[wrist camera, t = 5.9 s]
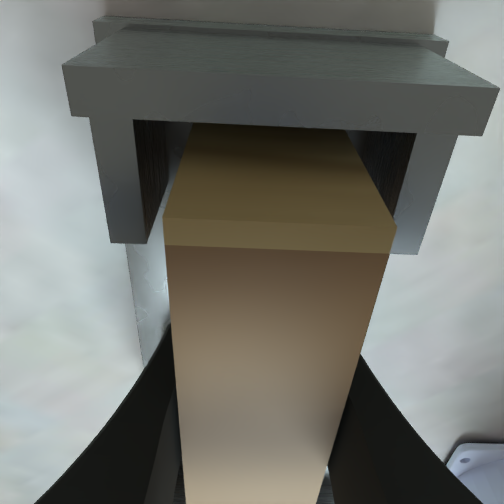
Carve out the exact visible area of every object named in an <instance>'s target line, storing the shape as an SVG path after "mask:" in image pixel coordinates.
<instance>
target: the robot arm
mask: <svg viewBox="0 0 504 504" xmlns="http://www.w3.org/2000/svg"><path fill="white" fill-rule="evenodd" d="M181 456H182V449H181V437H180V425H179V413H178V401H177V389H176V377H175V365H174V353H173V342H172V330H171V323H170V324H168V325H167V328H166V330H165V332H164V334H163V336H162V338H161V340H160V342H159V344H158V346H157V348H156V350H155V351H154V353H153V355H152V357H151V358H150V360H149V362H148V363H147V365H146V367H145V368H144V370H143V371H142V373H141V375H140V376H139V378H138V379H137V381H136V383H135V384H134V386H133V387H132V389H131V390H130V392H129V393H128V394H127V396H126V397H125V399H124V400H123V401H122V403H121V404H120V406H119V407H118V408H117V410H116V411H115V413H114V414H113V415H112V417H111V418H110V419H109V421H108V422H107V423H106V425H105V426H104V427H103V428H102V430H101V431H100V432H99V433H98V435H97V436H96V437H95V438H94V439H93V441H92V442H91V443H90V444H89V446H88V447H87V448H86V449H85V450H84V451H83V452H82V454H81V455H80V456H79V457H78V458H77V459H76V460H75V461H74V463H73V464H72V465H71V466H70V467H69V468H68V469H67V470H66V472H65V473H64V474H63V475H62V476H61V477H60V478H59V479H58V480H57V481H56V482H55V483H54V484H53V485H52V486H51V487H50V488H49V489H48V490H47V491H46V492H45V493H44V494H43V495H42V496H41V497H40V498H39V499H38V500H37V501H36V502H35V503H34V504H173V498H174V492H175V486H176V481H177V476H178V471H179V466H180V461H181ZM327 466H328V471H329V476H330V481H331V486H332V492H333V498H334V504H504V444H486V443H464V444H461V445H459V446H458V447H457V448H456V450H455V451H454V453H453V455H452V456H451V458H450V460H449V461H448V463H447V465H445V464H444V463H443V462H442V461H441V460H440V459H439V458H438V457H437V456H436V454H435V453H434V452H433V451H432V450H431V449H430V448H429V446H428V445H427V444H426V443H425V442H424V441H423V440H422V438H421V437H420V436H419V435H418V434H417V432H416V431H415V430H414V429H413V427H412V426H411V425H410V424H409V422H408V421H407V420H406V419H405V417H404V416H403V415H402V413H401V412H400V411H399V409H398V408H397V407H396V405H395V404H394V403H393V401H392V400H391V399H390V397H389V396H388V394H387V393H386V392H385V390H384V389H383V387H382V386H381V384H380V383H379V381H378V380H377V379H376V377H375V376H374V374H373V373H372V371H371V370H370V368H369V366H368V365H367V363H366V362H365V360H364V359H363V357H362V355H361V354H360V356H359V359H358V363H357V366H356V369H355V373H354V376H353V380H352V383H351V386H350V390H349V393H348V397H347V400H346V403H345V407H344V410H343V413H342V417H341V420H340V424H339V427H338V430H337V434H336V437H335V441H334V444H333V447H332V451H331V454H330V457H329V461H328V464H327Z"/></svg>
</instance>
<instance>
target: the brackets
mask: <svg viewBox="0 0 504 504" xmlns="http://www.w3.org/2000/svg"><path fill="white" fill-rule="evenodd" d="M93 28H94V35H95V42H96V45H94V46H92V47H91V48H89V49H87V50H86V51H84V52H82V53H81V54H79V55H77V56H76V57H74V58H72V59H71V60H69V61H67V62H66V63H64V64H62V70H63V75H64V80H65V85H66V91H67V96H68V101H69V106H70V111H71V116H77V117H89V120H90V125H91V131H92V137H93V143H94V149H95V155H96V160H97V166H98V172H99V178H100V184H101V190H102V195H103V201H104V207H105V213H106V219H107V224H108V230H109V236H110V242H111V243H125V245H126V252H127V258H128V265H129V272H130V279H131V285H132V292H133V299H134V306H135V313H136V319H137V326H138V333H139V340H140V346H141V353H142V360H143V367H144V368H145V367H146V365H147V363H148V362H149V360H150V358H151V357H152V355H153V353H154V351H155V350H156V348H157V346H158V344H159V342H160V340H161V338H162V336H163V334H164V332H165V330H166V328H167V325H168V324H170V323H171V318H170V306H169V294H168V282H167V270H166V258H165V246H164V234H163V222H162V217H163V214H164V210H165V207H166V204H167V201H168V198H169V195H170V192H171V189H172V186H173V183H174V180H175V177H176V174H177V171H178V168H179V165H180V162H181V159H182V155H183V152H184V149H185V146H186V143H187V140H188V137H189V134H190V131H191V128H192V125H193V122H200V123H221V124H241V125H262V126H282V127H303V128H323V129H344V130H345V131H346V133H347V134H348V136H349V138H350V140H351V142H352V144H353V146H354V147H355V149H356V151H357V153H358V155H359V157H360V159H361V160H362V162H363V164H364V166H365V168H366V170H367V172H368V173H369V175H370V177H371V179H372V181H373V183H374V185H375V186H376V188H377V190H378V192H379V194H380V196H381V198H382V199H383V201H384V203H385V205H386V207H387V209H388V211H389V212H390V214H391V216H392V218H393V220H394V222H395V224H396V225H397V231H396V234H395V238H394V241H393V244H392V248H391V251H390V254H410V255H417V254H418V251H419V249H420V246H421V243H422V240H423V237H424V234H425V231H426V228H427V225H428V222H429V219H430V216H431V213H432V211H433V208H434V205H435V202H436V199H437V196H438V193H439V190H440V187H441V184H442V181H443V178H444V175H445V172H446V170H447V167H448V164H449V161H450V158H451V155H452V152H453V149H454V146H455V143H456V140H457V137H458V135H467V136H482V135H483V133H484V130H485V127H486V125H487V122H488V119H489V117H490V114H491V111H492V109H493V106H494V103H495V101H496V98H497V95H498V93H499V90H500V88H499V87H497V86H495V85H494V84H492V83H490V82H488V81H486V80H484V79H482V78H481V77H479V76H477V75H475V74H473V73H471V72H469V71H468V70H466V69H464V68H462V67H460V66H458V65H456V64H455V63H453V62H451V61H449V60H447V59H445V58H444V57H445V54H446V50H447V47H448V43H449V41H447V40H445V39H443V38H440V37H438V36H436V35H429V34H412V33H394V32H377V31H359V30H342V29H324V28H307V27H289V26H271V25H254V24H236V23H219V22H201V21H184V20H166V19H148V18H131V17H113V16H103V17H101V18H99V19H97V20H94V21H93ZM173 504H186V497H185V485H184V473H183V461H182V456H181V461H180V466H179V471H178V476H177V481H176V486H175V492H174V498H173ZM316 504H334V498H333V492H332V486H331V481H330V476H329V471H328V466H327V468H326V471H325V474H324V478H323V481H322V485H321V488H320V491H319V495H318V498H317V501H316Z"/></svg>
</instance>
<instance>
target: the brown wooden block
mask: <svg viewBox="0 0 504 504" xmlns="http://www.w3.org/2000/svg"><path fill="white" fill-rule="evenodd" d="M162 222H163V234H164V246H165V258H166V270H167V282H168V294H169V306H170V318H171V330H172V342H173V353H174V365H175V377H176V389H177V401H178V413H179V425H180V437H181V449H182V461H183V473H184V485H185V497H186V504H316V501H317V498H318V495H319V491H320V488H321V485H322V481H323V478H324V474H325V471H326V468H327V464H328V461H329V457H330V454H331V451H332V447H333V444H334V441H335V437H336V434H337V430H338V427H339V424H340V420H341V417H342V413H343V410H344V407H345V403H346V400H347V397H348V393H349V390H350V386H351V383H352V380H353V376H354V373H355V369H356V366H357V363H358V359H359V356H360V353H361V349H362V346H363V342H364V339H365V336H366V332H367V329H368V326H369V322H370V319H371V315H372V312H373V309H374V305H375V302H376V298H377V295H378V292H379V288H380V285H381V282H382V278H383V275H384V271H385V268H386V265H387V261H388V258H389V254H390V251H391V248H392V244H393V241H394V238H395V234H396V231H397V225H396V224H395V222H394V220H393V218H392V216H391V214H390V212H389V211H388V209H387V207H386V205H385V203H384V201H383V199H382V198H381V196H380V194H379V192H378V190H377V188H376V186H375V185H374V183H373V181H372V179H371V177H370V175H369V173H368V172H367V170H366V168H365V166H364V164H363V162H362V160H361V159H360V157H359V155H358V153H357V151H356V149H355V147H354V146H353V144H352V142H351V140H350V138H349V136H348V134H347V133H346V131H345V130H344V129H323V128H303V127H282V126H262V125H241V124H221V123H200V122H193V125H192V128H191V131H190V134H189V137H188V140H187V143H186V146H185V149H184V152H183V155H182V159H181V162H180V165H179V168H178V171H177V174H176V177H175V180H174V183H173V186H172V189H171V192H170V195H169V198H168V201H167V204H166V207H165V210H164V214H163V217H162Z"/></svg>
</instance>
